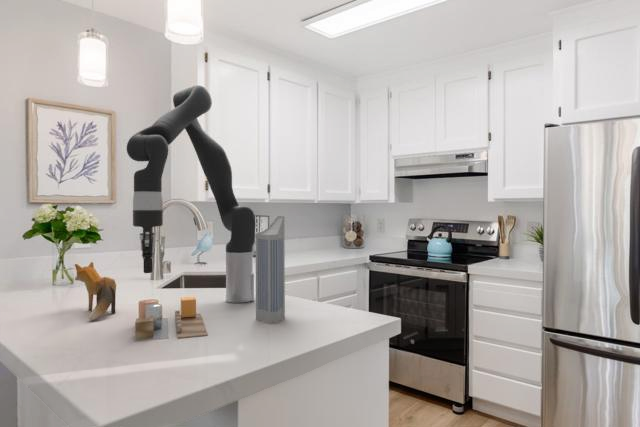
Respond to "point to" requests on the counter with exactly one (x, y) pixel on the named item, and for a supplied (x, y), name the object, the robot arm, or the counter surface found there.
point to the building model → (270, 273)
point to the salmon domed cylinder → (143, 306)
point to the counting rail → (189, 326)
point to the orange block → (188, 307)
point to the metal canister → (155, 314)
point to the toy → (97, 290)
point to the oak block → (144, 328)
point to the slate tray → (157, 332)
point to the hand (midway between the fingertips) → (148, 272)
